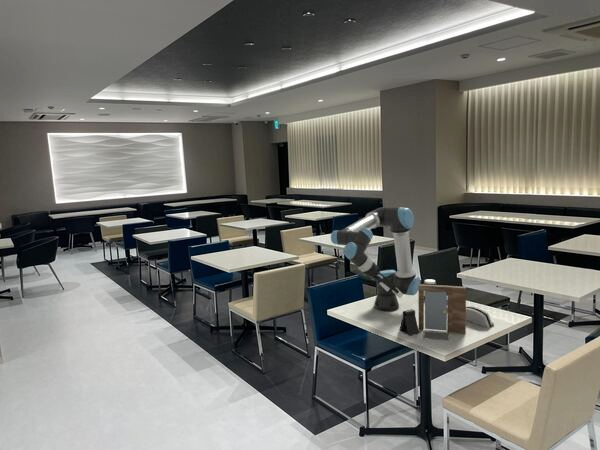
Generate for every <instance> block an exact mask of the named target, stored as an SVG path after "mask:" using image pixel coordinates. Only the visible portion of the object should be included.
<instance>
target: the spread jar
mask: <svg viewBox="0 0 600 450" xmlns="http://www.w3.org/2000/svg"><path fill="white" fill-rule="evenodd" d="M423 285H437V283H436V280H435V279H431V278H430V279H424V283H423ZM424 299H425V290H424Z"/></svg>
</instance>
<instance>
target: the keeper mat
mask: <svg viewBox="0 0 600 450" xmlns="http://www.w3.org/2000/svg"><path fill="white" fill-rule="evenodd" d="M423 339H427V340H438V341H449V340H450V333H447V332H437V331H427V330H425V331H424V336H423Z"/></svg>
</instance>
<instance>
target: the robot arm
mask: <svg viewBox="0 0 600 450" xmlns="http://www.w3.org/2000/svg"><path fill="white" fill-rule="evenodd" d="M414 222H415V216H414V213H413V211H412V210H411V209H410V208H408V207H403V206H402V207H401V206H383V207H378V208H376V209H374V210H372V211H370V212H367V213H366V214H365V217H363V218H360V219H359V220H357V221H355V222H354V223H352V224H350V225H348V226H347V227H345V228H343V229H342V230H338V229H337V230H333V231H332V232H331V234H330V241H331V243H332V244H333V245H338V246H344V247H343V249H342V253H343V255H344V256H345V257H346V258H347V259H348V260H349V261H350V262H351V263H352V264H354V266H356V267H357V270H358V271H360V272H362V273H363V274H364V275H365V276H366V277H368V278H370V277H372V279H373V280H374V281H375V282H376V297H375V300H374V302H373V307H374V309H375V310H378V311H384V312H391V311H396V310H399V308H400V305H399V301H398V299H401V298H402V297H403V296H404V295H407V296H415V295H416V294H417V293H419V284H421V278H420V276H418V275H416V271H415V270H414V269H413V262H412V254H411V253H412V252H411V251H412V250H411V243H410V231H411V229H412V228H413V226H414ZM378 227H379V228H380V227H383V228H384V227H386V228H389V231H390V233H392V234H393V242H394V251H395V258H396V266H397V268H396V269H397V271H396V270H395V269H386V270H380V271H379V270H378V269H379V266H378V265H377V264H376V263H375V262H374V261H373V260H372V259H371V258H370V257H369V256H368V255H367V254H366V250H367V248H368V247H369V245H370V243H371V241H372V239H373V237H374V234H373V232H372V229H377V228H378Z"/></svg>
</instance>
